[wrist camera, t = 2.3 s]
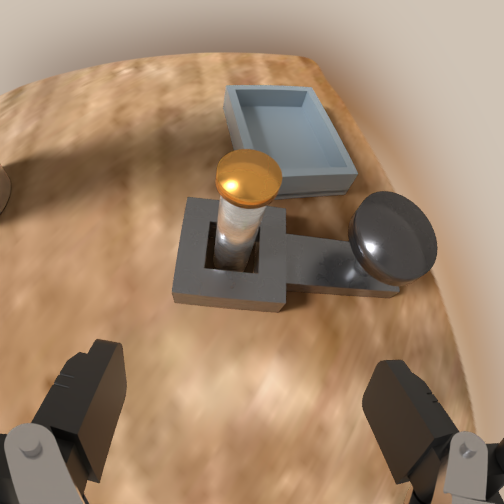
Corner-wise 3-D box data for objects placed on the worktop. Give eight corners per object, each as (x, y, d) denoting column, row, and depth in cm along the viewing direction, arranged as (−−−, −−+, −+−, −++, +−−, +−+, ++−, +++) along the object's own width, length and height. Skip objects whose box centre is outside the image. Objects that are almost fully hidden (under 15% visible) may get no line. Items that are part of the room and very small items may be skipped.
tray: (223, 108, 40) (226, 85, 36) (304, 108, 42) (311, 87, 39) (246, 202, 33) (252, 178, 30) (344, 194, 36) (358, 173, 33)
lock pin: (200, 257, 30) (203, 166, 18) (232, 235, 31) (252, 140, 20) (228, 288, 29) (247, 211, 17) (259, 263, 30) (295, 179, 19)
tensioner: (174, 302, 28) (163, 262, 20) (188, 214, 32) (186, 153, 24) (391, 318, 30) (446, 288, 22) (381, 238, 34) (424, 194, 26)
